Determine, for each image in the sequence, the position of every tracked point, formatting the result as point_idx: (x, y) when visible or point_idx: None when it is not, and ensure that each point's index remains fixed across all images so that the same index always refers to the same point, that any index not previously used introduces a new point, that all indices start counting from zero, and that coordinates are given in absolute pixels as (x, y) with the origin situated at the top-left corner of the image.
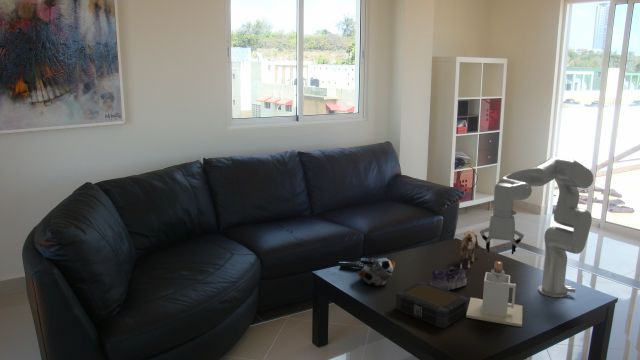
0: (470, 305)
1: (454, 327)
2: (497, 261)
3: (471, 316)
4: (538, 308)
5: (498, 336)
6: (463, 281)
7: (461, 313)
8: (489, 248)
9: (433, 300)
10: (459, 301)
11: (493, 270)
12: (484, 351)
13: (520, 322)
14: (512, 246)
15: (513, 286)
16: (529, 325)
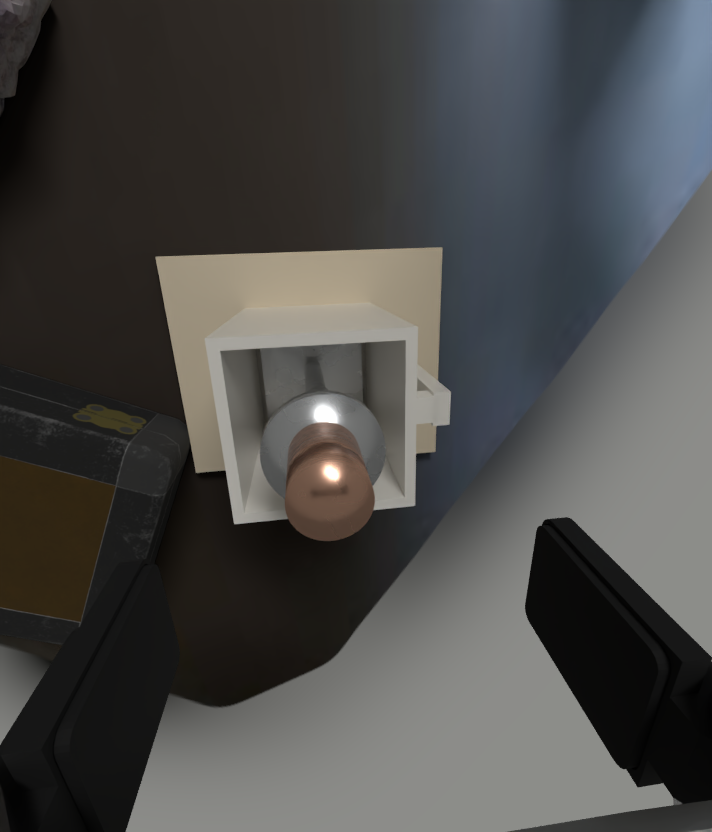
0: (185, 366)
1: (181, 564)
2: (313, 474)
3: (221, 468)
4: (516, 213)
5: (350, 553)
6: (16, 24)
7: (174, 491)
8: (154, 625)
9: (6, 580)
10: (139, 532)
11: (281, 447)
12: (318, 653)
13: (429, 439)
14: (618, 755)
15: (431, 423)
16: (461, 419)
